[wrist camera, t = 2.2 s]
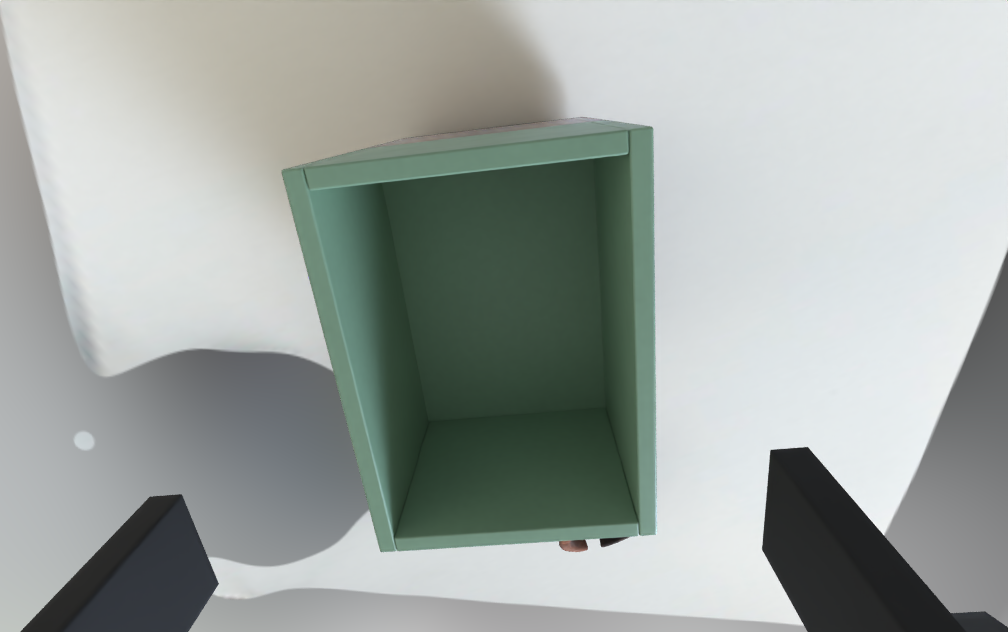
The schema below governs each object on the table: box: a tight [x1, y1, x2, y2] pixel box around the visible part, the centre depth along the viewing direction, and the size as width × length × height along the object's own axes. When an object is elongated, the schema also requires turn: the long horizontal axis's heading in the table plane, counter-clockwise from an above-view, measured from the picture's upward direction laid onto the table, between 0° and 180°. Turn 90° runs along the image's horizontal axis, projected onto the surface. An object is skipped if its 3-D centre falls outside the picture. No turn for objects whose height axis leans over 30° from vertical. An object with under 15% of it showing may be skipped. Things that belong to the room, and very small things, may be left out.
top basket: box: [282, 120, 657, 552], centre depth 23 cm, size 11×15×10 cm
